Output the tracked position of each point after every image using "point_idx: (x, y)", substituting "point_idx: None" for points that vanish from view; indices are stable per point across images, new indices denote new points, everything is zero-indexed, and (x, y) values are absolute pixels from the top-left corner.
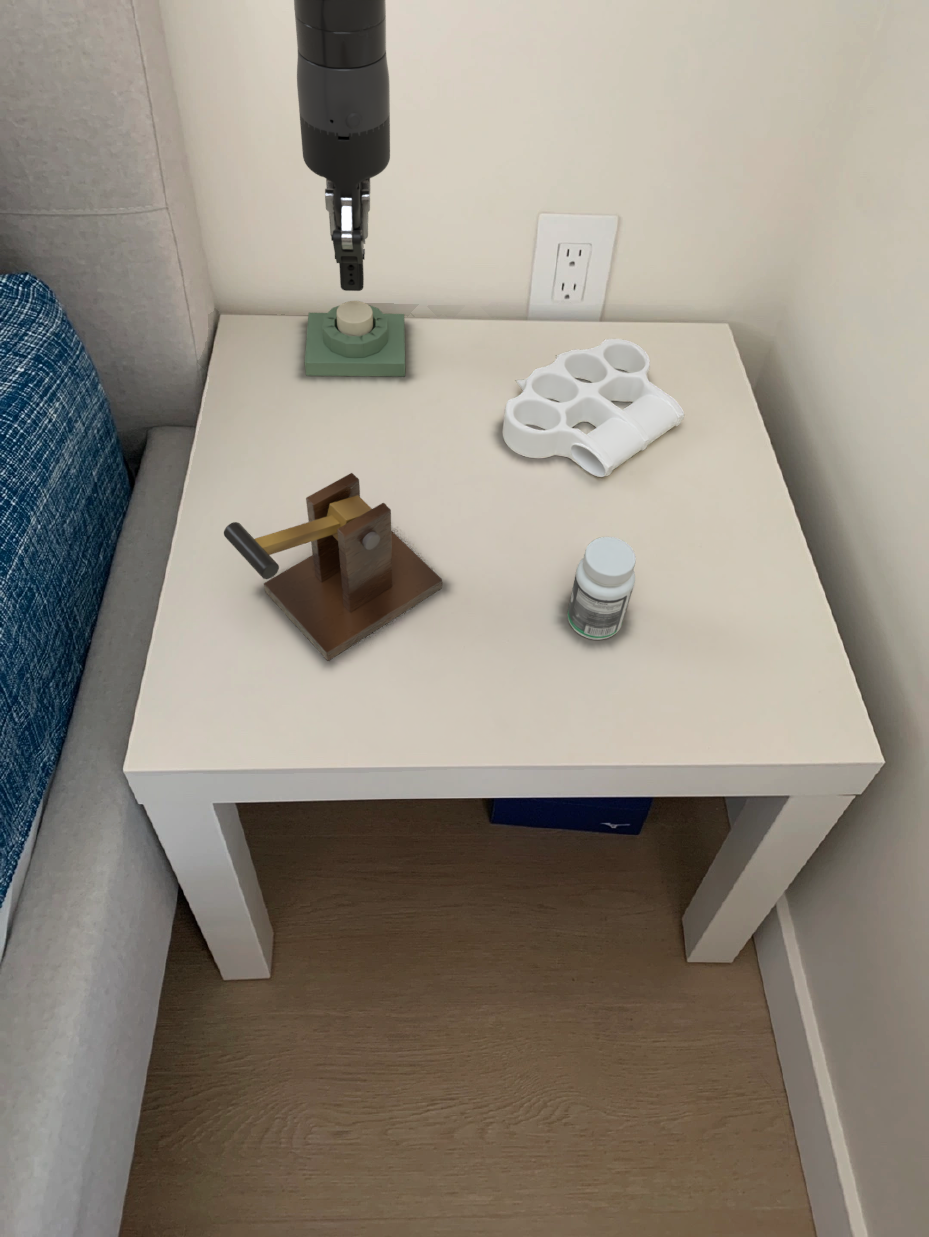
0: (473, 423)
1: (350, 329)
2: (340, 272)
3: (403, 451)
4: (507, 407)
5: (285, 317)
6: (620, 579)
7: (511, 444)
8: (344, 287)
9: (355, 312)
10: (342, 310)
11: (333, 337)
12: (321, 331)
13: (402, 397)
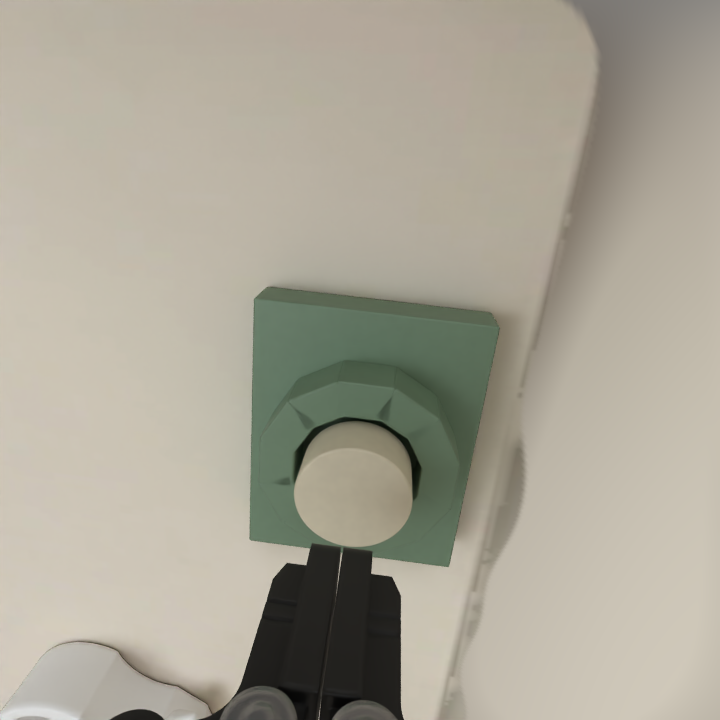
0: (120, 605)
1: (300, 467)
2: (298, 605)
3: (20, 475)
4: (53, 712)
5: (550, 240)
6: None
7: (44, 658)
8: (284, 567)
9: (346, 503)
10: (361, 468)
11: (288, 408)
12: (396, 358)
13: (191, 497)
